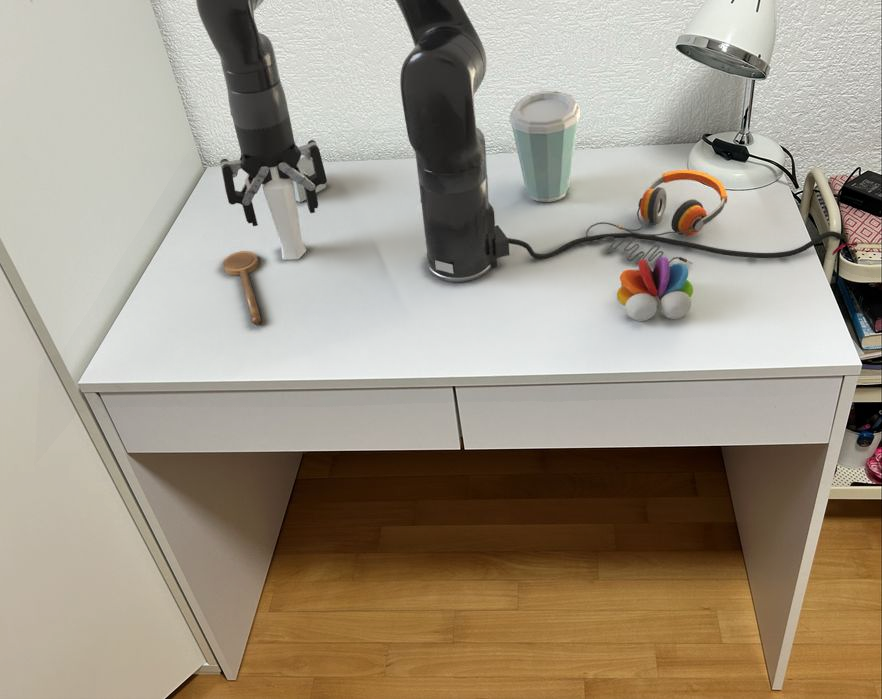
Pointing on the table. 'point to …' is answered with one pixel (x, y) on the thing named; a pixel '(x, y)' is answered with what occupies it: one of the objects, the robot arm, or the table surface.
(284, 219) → the perfume bottle
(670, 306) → the rainbow petal fan toy
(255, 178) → the robot arm
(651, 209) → the headphones
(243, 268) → the wooden spoon
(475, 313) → the table surface
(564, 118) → the disposable coffee cup
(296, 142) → the product carton
